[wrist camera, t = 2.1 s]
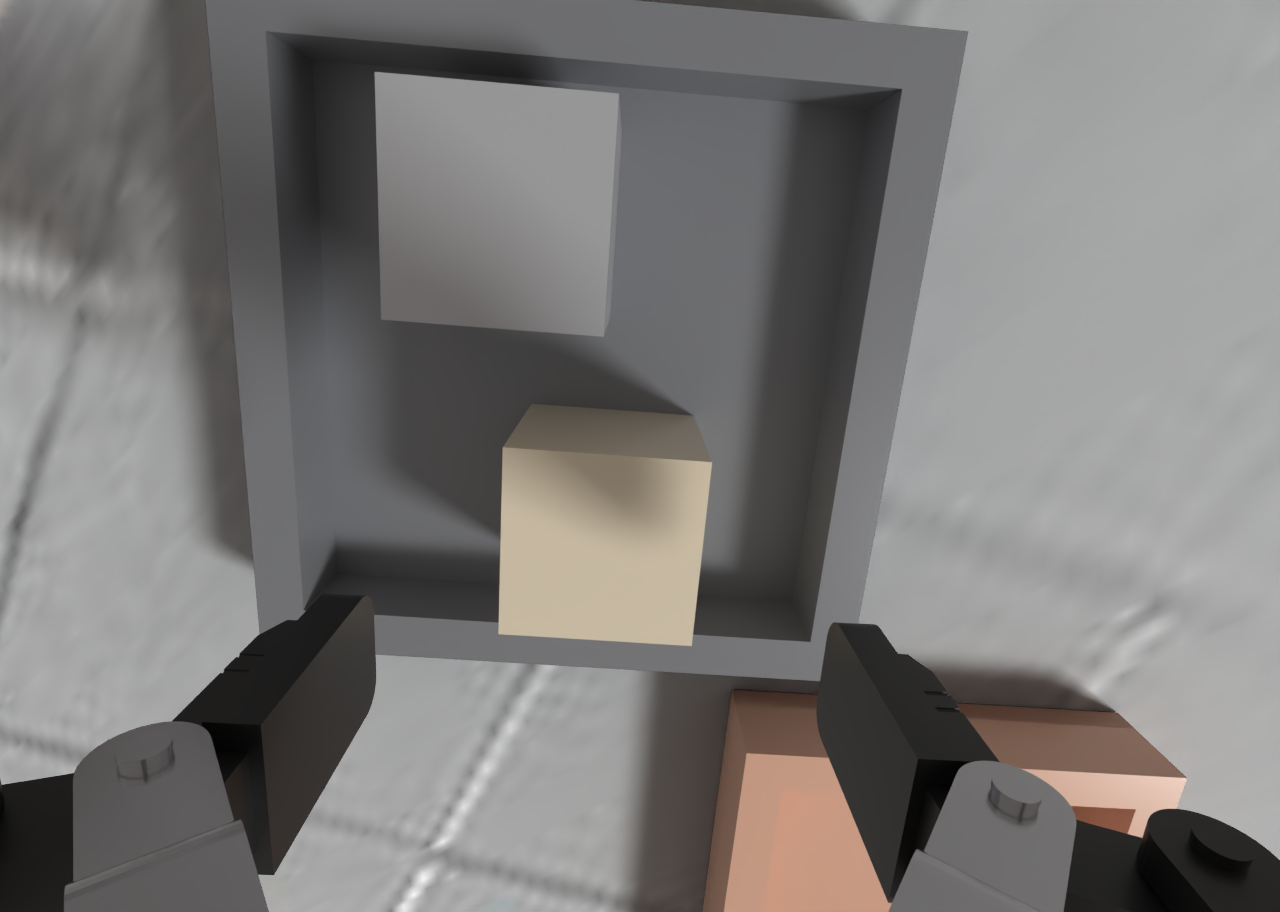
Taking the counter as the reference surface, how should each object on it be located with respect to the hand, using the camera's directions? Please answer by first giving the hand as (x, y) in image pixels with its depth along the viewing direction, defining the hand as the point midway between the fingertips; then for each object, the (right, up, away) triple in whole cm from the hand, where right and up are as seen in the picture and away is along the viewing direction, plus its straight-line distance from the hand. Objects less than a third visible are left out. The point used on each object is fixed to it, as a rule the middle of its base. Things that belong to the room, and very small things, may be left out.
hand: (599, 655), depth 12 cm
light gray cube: (-2, +9, +6) cm, 11 cm away
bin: (-1, +6, +7) cm, 10 cm away
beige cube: (0, +3, +8) cm, 8 cm away
